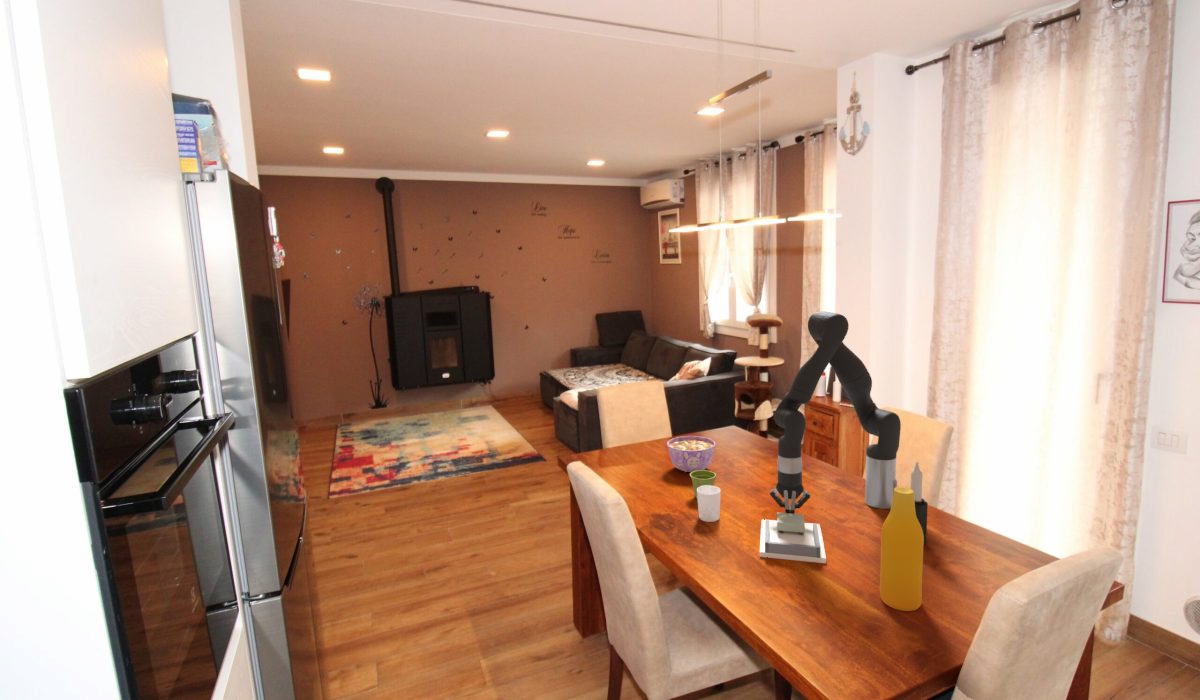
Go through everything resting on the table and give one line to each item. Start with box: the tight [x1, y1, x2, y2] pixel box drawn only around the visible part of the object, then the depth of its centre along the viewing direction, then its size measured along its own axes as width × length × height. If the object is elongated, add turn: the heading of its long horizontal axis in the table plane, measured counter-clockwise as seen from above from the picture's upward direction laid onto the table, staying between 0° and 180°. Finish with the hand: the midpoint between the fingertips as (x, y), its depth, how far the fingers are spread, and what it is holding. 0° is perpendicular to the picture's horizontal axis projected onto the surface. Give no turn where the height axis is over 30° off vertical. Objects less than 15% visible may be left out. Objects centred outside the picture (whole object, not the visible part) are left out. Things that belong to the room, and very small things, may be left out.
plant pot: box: [689, 469, 717, 499], centre depth 208 cm, size 9×9×9 cm
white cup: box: [696, 485, 722, 523], centre depth 191 cm, size 8×8×10 cm
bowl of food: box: [666, 435, 716, 473], centre depth 236 cm, size 20×20×12 cm
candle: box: [909, 461, 929, 546], centre depth 167 cm, size 5×5×25 cm
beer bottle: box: [879, 486, 925, 612], centre depth 139 cm, size 9×9×29 cm
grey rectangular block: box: [776, 511, 806, 534], centre depth 179 cm, size 8×10×4 cm
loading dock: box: [759, 518, 827, 564], centre depth 174 cm, size 18×25×6 cm
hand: (789, 519), depth 185 cm, fingers closed
